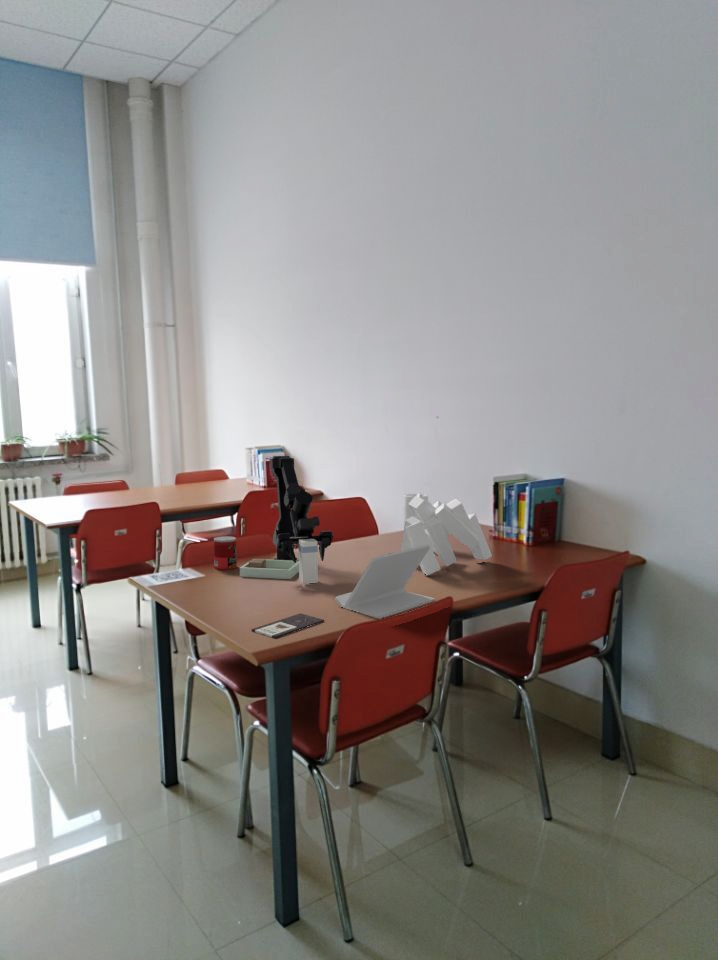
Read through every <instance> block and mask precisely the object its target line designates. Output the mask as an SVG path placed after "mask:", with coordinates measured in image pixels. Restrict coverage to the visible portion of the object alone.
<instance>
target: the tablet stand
mask: <svg viewBox="0 0 718 960" xmlns="http://www.w3.org/2000/svg"><path fill="white" fill-rule="evenodd" d="M429 549H430V546H429V545H424V546H420V547H416V548H411V549H407V550H403V551H401V550H399V551H394V552H391V553H387V554H382V555H378V556H374V557H372V558H371V559H370V562H369V563H368V565H367V566H366V568H365V570H364V572H363V573H362V575H361V577H360V578H359V580H358V582H357V584H356V586H355V587H354V589H353V590H352V591H350V592H348V593H347V592H346V593H343V594H340V595H337V596H336V597H335V599H334V600H335V602H336V603H337V604H338V606H339V607H340V608H341V607H343V608H342V609H344V608H346V609H345V610H347V609H349V610H348V611H351V610H353V611H352V612H354V611H356V613H358V612H360V613H359V614H361V613H362V615H364V616H365V615H366V616H367V617H368V616H369V617H372V618H376V619H383V618H382V617H384V618H387V617H389V615H390V616H392V615H396V614H398V613H402V612H404V611H407V610H411V609H413V608H414V609H415V608H416V607H420V606H422V605H426V604H428V603H427V602H429V603H432V602H435V598H434V597H431V596H427V595H423V594H419V593H414V592H410V591H406V589H405V587H406V586H407V584H408V583H409V582H410V580H411V578H412V577H413V575H414V573H415V572H416V570H417V569H418V568H419V566H420V563H421V561H422V559H423V558H424V556H425V555H426V553H427V552H428V550H429ZM432 600H433V601H432Z"/></svg>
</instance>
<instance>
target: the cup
mask: <svg viewBox="0 0 718 960" xmlns="http://www.w3.org/2000/svg"><path fill="white" fill-rule="evenodd" d="M418 494H419V493H408V494H407V493H406V494H404V495H403V505H402V506H403V509H402V510H403V522H404V523H405V520H406V519H408V518H410V517H415V518H416V519H418V520H420V518H419V517H418V516H417V515H416V513H415V512H414V511H413V510H412V508H411V507H410V506H409V505H408V504H409V503H410V501H411V500H412V499H413V498H414V497H415V496H416V495H418ZM421 494H422V495H423V496H424V497H425V498H426V499H427V500H428V501H429V496H428V494H425V493H421ZM420 521H421V520H420ZM421 522H422V521H421ZM423 527H424V528H425V529H427V527H426V526H425V525H424V523H423Z"/></svg>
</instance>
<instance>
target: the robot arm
mask: <svg viewBox="0 0 718 960" xmlns="http://www.w3.org/2000/svg"><path fill="white" fill-rule="evenodd" d="M269 468H270V469H271V470H270V471H271V474H272V476H273V477H274V478H275V481H276V490H277V502H278V503H277V504H278V505H277V506H278V515H279V516H278V520H277V522H276V523H275V528H274V532H273V535H272V544H273V545H275V547H276V558H273V560H289V561H293V562H294V563H296V561H297V560H298V557H296V554H295V550H294V549H295V547H294V545H299V539H315V540H316V541H317V545H318V551H319V552H318V553H319V555H320V559H321V561H322V562H324V559H325V551H326V549H328V547H330V546H331V545H332V541H333V539H334V533H333V532H332V531H331V530H321V531H320V532H319V535H313V534H314V532H315V528H317V527H319V526H320V524H321V522H320V517H319V516H318V515H317V516H316V515H315V516H313V517H309V515H308V513H310V509H311V506H312V503H313V497H314V496H312V495H311V493H310V492H307V491H306V489H305V488H304V487H302V486H301V485H300V484H299V480H298V477H297V474H296V473H297V472H296V471H295V458H294V457H291V456H290V455H273V456H272V458H270V459H269Z"/></svg>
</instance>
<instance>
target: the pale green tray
mask: <svg viewBox="0 0 718 960" xmlns="http://www.w3.org/2000/svg"><path fill="white" fill-rule="evenodd" d="M253 559H254V558H252V559H251V560H253ZM265 559H266V568H249V562H250V561H251V560H249V561H247V562H246V563H245V564H243V565H242V566H240V567H239V577H241V578H242V577H243V578H259V579H260V578H262V579H280V580H291V579H292V578H293V577H295V576H296V575H297V574H299V560H296V563H294V562H293V560H290V561H289V560H274V559H267V558H265Z"/></svg>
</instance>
